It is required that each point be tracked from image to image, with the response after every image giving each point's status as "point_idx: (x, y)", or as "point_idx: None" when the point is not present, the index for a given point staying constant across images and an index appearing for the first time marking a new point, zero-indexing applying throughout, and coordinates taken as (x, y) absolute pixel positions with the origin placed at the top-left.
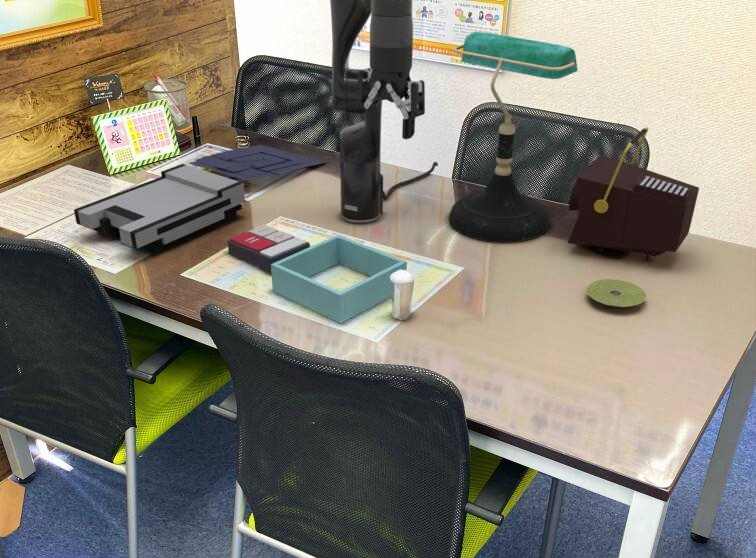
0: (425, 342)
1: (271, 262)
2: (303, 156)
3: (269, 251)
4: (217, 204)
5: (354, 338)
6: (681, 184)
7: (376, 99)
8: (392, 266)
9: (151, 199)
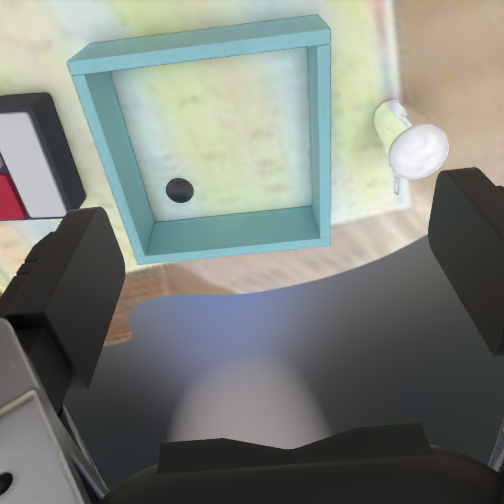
0: (484, 148)
1: None
2: None
3: (41, 205)
4: None
5: (371, 224)
6: None
7: (88, 466)
8: (321, 83)
9: None
